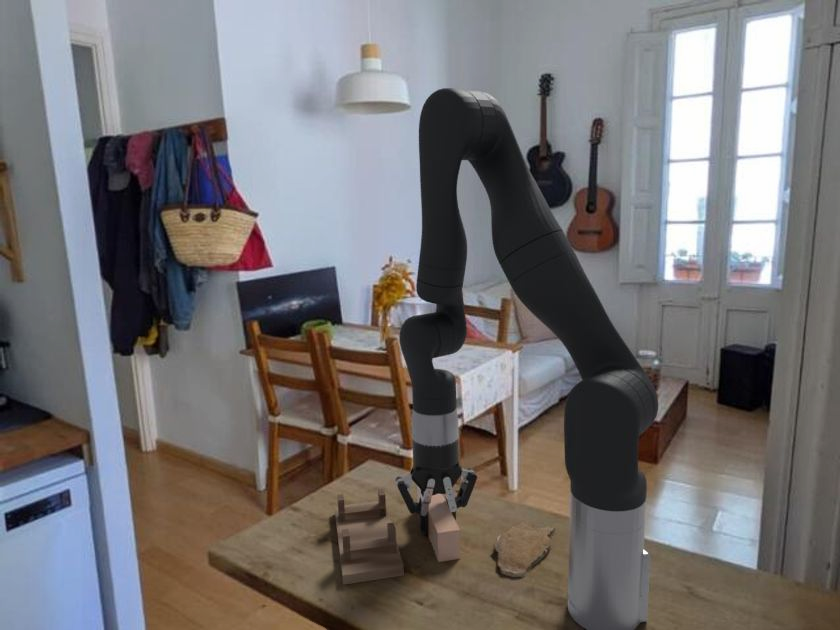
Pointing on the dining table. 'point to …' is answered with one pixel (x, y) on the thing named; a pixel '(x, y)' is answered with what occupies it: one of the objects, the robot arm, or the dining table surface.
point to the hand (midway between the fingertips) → (437, 530)
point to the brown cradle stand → (367, 541)
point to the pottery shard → (522, 547)
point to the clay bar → (442, 529)
